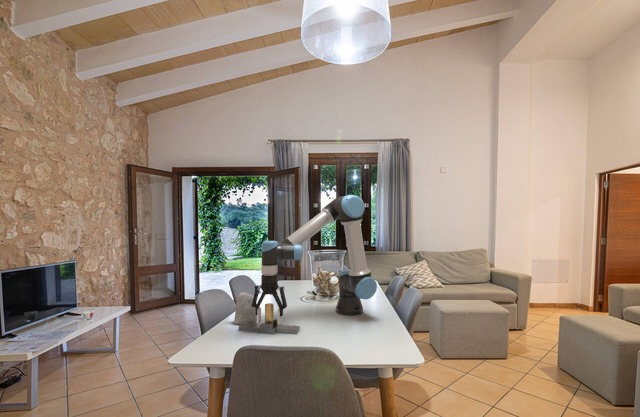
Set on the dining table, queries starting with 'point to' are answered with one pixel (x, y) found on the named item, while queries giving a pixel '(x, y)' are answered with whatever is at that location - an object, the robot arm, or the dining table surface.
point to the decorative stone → (245, 309)
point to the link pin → (269, 313)
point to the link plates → (269, 328)
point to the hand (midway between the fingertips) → (269, 322)
